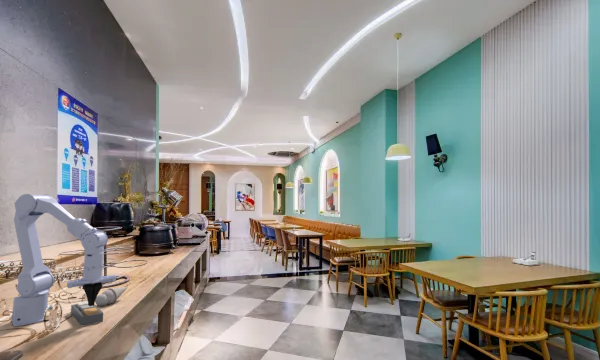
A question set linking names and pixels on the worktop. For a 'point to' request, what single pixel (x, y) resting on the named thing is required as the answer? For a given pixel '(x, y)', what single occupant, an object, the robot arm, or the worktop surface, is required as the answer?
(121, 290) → the ice cream cone
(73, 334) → the worktop surface
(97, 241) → the robot arm
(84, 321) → the grey compartment tray
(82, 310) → the grey key
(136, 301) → the worktop surface
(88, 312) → the amber key
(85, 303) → the cream key
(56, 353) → the worktop surface
